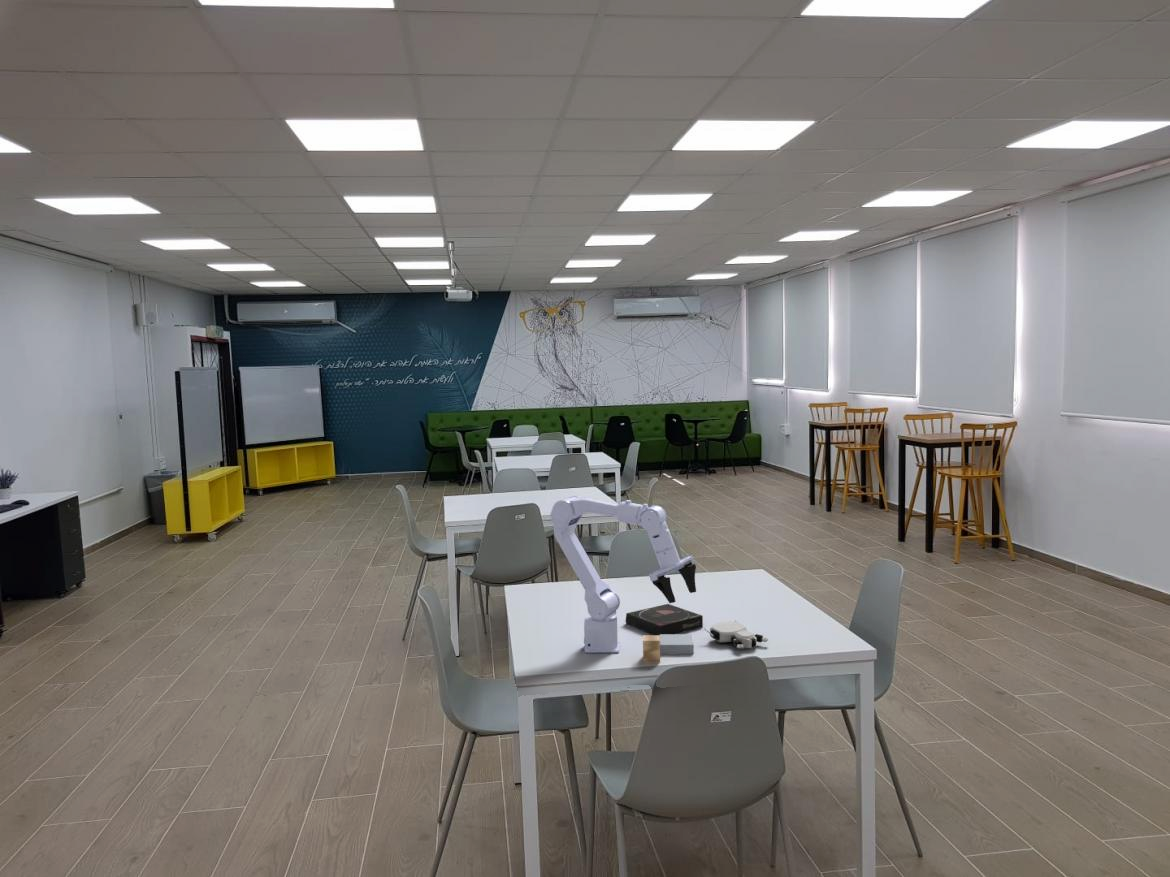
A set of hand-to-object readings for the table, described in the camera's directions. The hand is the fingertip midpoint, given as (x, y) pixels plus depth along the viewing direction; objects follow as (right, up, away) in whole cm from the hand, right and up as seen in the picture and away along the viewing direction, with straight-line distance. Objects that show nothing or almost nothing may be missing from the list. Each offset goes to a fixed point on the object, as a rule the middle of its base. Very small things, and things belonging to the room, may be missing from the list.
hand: (682, 597), depth 217 cm
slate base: (-1, -17, +9) cm, 19 cm away
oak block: (-8, -17, +1) cm, 19 cm away
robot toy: (+17, -16, +12) cm, 26 cm away
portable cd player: (-2, -15, +30) cm, 34 cm away
